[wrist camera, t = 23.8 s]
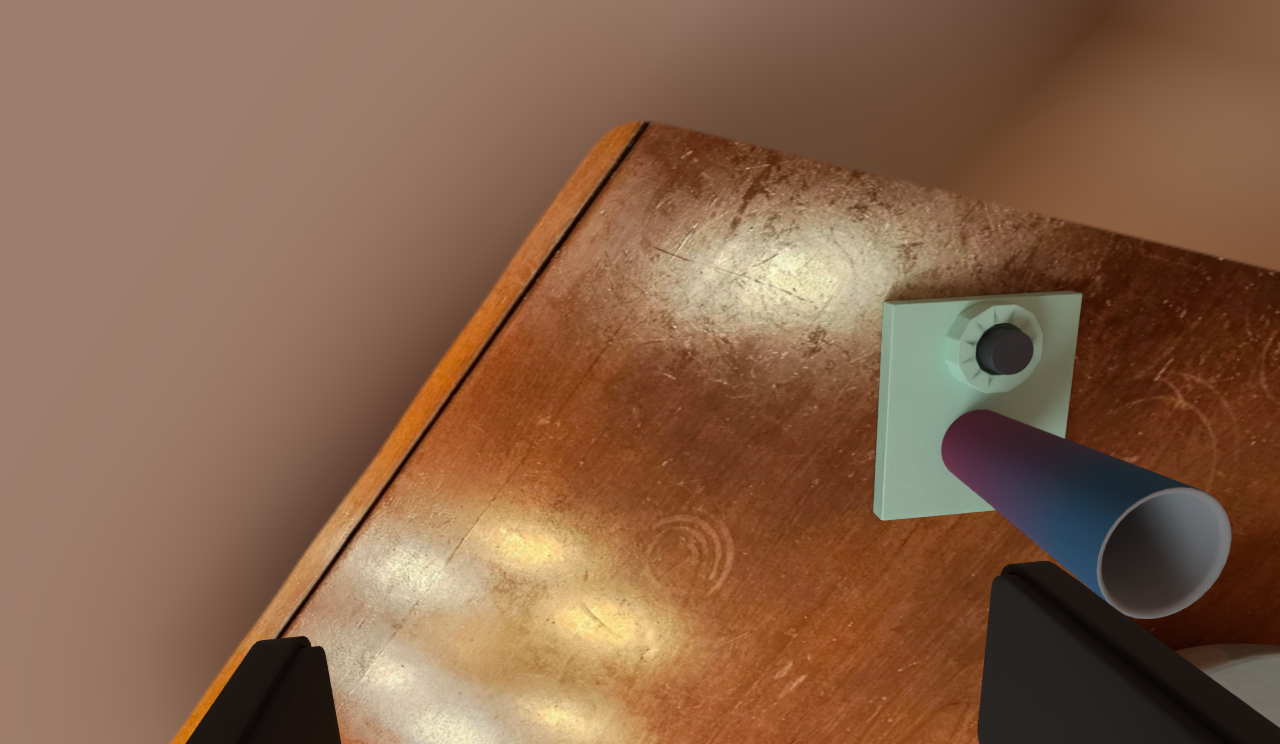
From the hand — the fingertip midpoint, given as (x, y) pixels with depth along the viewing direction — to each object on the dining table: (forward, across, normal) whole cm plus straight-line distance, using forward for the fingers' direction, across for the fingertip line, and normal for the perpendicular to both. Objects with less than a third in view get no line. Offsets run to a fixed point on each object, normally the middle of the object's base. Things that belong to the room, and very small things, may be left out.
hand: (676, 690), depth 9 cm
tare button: (+32, -26, +4) cm, 41 cm away
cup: (+33, -26, +10) cm, 43 cm away
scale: (+34, -26, +8) cm, 44 cm away
